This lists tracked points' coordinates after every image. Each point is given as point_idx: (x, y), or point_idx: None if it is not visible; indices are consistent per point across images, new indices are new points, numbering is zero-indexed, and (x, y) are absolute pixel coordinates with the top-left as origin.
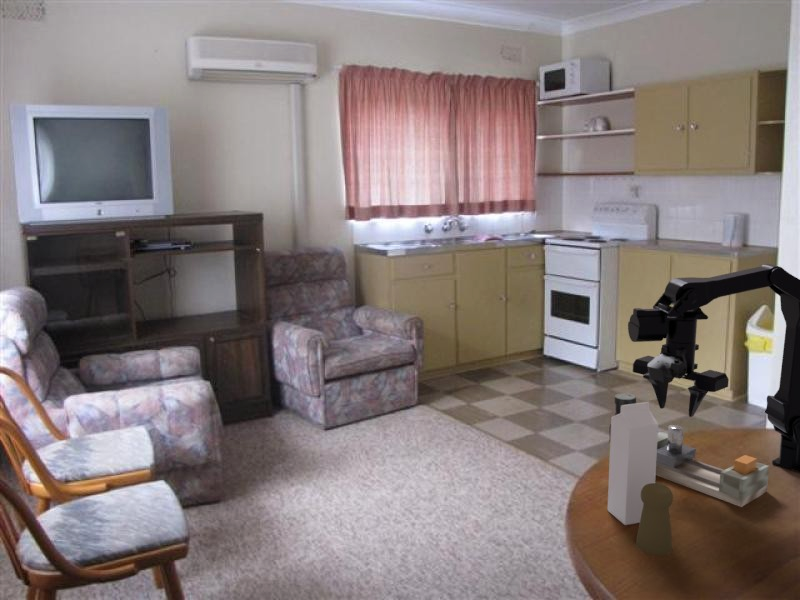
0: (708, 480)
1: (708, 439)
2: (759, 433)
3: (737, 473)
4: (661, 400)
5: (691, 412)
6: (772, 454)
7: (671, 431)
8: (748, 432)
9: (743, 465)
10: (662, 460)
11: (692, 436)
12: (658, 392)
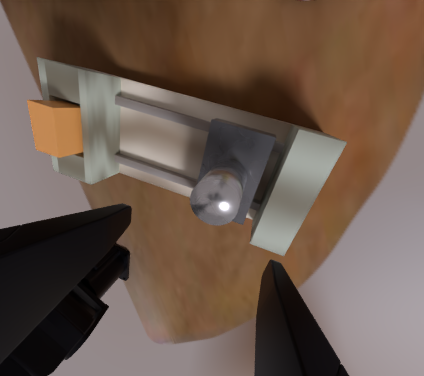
0: (145, 104)
1: (222, 302)
2: (175, 331)
3: (61, 89)
4: (275, 298)
5: (100, 209)
6: (141, 279)
7: (222, 178)
8: (186, 332)
9: (40, 102)
10: (247, 127)
11: (246, 307)
12: (311, 368)
